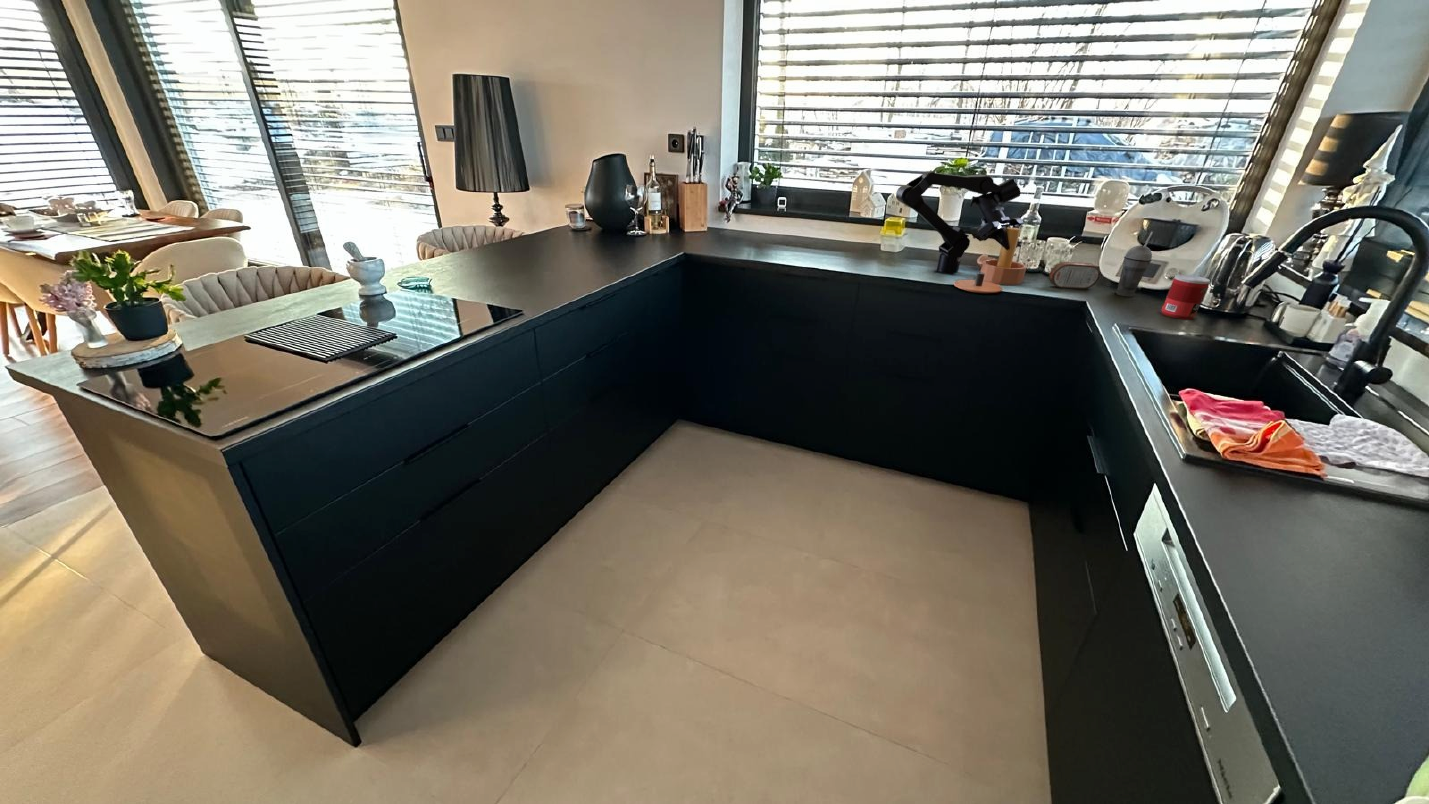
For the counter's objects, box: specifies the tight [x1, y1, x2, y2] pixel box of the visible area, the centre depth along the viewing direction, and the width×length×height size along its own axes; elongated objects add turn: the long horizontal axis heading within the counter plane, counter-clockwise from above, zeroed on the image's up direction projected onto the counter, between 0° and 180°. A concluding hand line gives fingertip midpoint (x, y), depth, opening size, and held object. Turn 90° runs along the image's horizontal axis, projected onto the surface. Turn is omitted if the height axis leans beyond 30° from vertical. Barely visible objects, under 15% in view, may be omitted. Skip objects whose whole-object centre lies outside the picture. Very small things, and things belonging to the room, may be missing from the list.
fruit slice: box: [976, 253, 997, 268], centre depth 206 cm, size 8×7×5 cm
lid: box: [953, 271, 1003, 294], centre depth 182 cm, size 15×15×5 cm
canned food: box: [1161, 274, 1211, 320], centre depth 159 cm, size 8×8×11 cm
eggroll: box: [996, 227, 1022, 268], centre depth 189 cm, size 4×4×13 cm
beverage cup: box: [1116, 231, 1154, 298], centre depth 176 cm, size 7×7×20 cm
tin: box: [1048, 261, 1101, 290], centre depth 184 cm, size 15×3×8 cm, turn 84°
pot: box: [979, 258, 1028, 286], centre depth 193 cm, size 14×14×6 cm
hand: (1012, 248), depth 188 cm, fingers closed on eggroll, 4 cm apart
